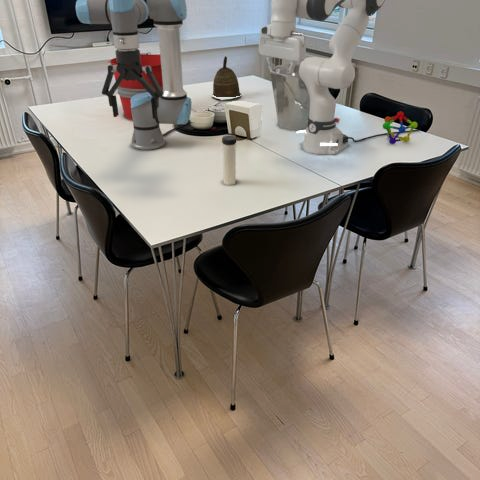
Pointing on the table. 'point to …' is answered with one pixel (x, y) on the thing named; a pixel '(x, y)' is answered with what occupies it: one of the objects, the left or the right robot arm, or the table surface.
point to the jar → (229, 164)
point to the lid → (229, 140)
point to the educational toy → (398, 128)
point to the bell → (225, 82)
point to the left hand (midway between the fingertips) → (135, 116)
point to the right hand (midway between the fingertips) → (280, 71)
